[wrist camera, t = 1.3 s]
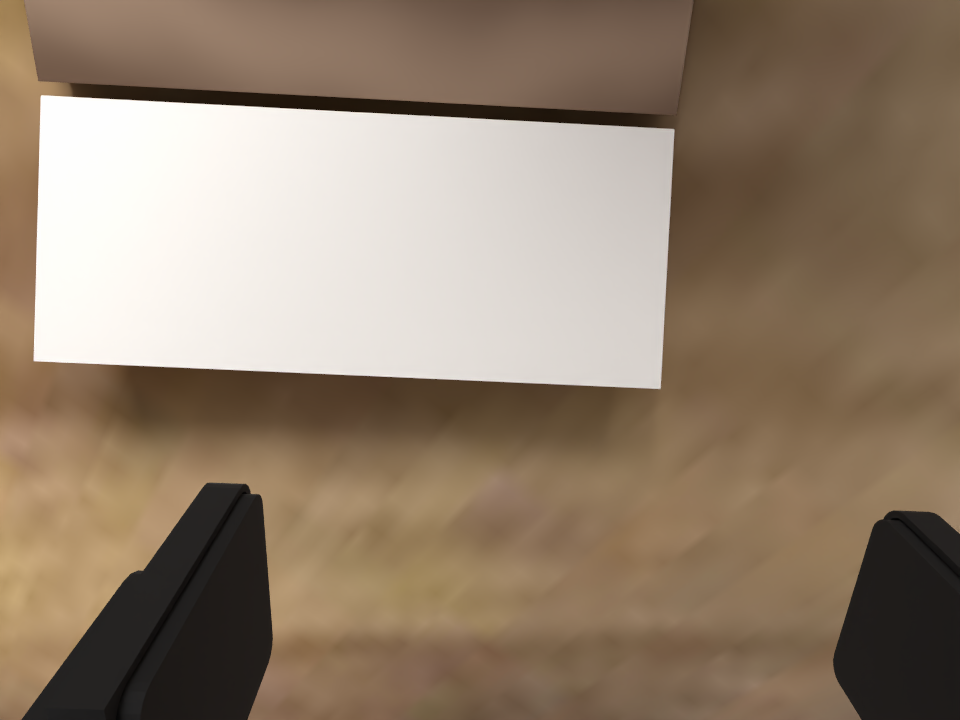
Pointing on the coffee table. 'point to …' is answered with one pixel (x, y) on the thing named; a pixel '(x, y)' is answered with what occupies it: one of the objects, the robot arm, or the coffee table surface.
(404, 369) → the off-white plank
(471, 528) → the coffee table surface
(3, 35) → the coffee table surface
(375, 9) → the walnut plank
